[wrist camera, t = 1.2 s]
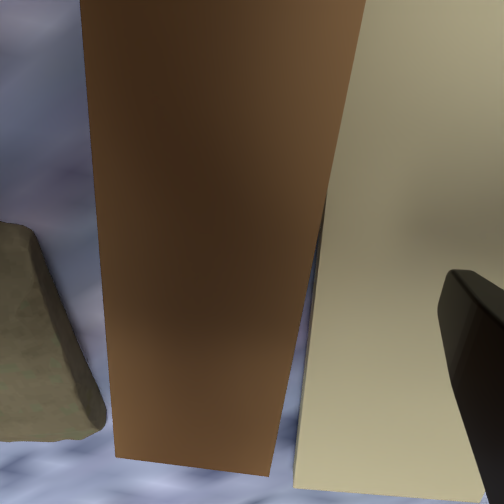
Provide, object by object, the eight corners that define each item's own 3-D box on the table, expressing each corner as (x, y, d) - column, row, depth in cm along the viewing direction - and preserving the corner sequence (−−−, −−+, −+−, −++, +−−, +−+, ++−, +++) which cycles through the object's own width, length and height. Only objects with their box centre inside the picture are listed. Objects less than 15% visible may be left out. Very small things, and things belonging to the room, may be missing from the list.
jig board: (1092, -905, 5) (1212, -1035, 5) (472, 483, 19) (479, 502, 18) (441, -869, 6) (462, -984, 5) (293, 468, 19) (293, 487, 18)
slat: (348, -72, 10) (384, -89, 6) (273, 353, 16) (268, 476, 12) (155, -95, 10) (70, -127, 6) (156, 339, 16) (115, 457, 12)
